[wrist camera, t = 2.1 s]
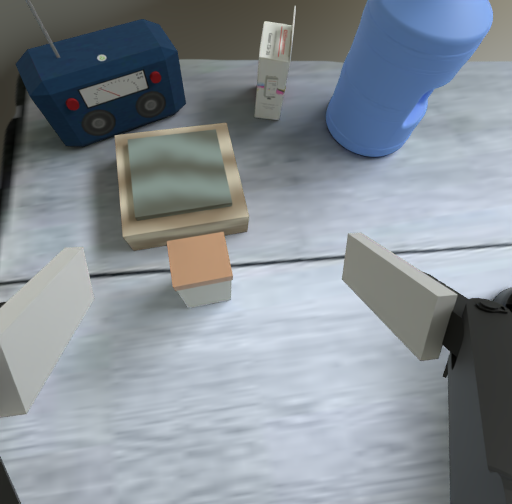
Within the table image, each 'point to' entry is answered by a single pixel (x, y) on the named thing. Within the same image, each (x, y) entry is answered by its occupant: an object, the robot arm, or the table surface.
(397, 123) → the water jug
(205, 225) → the birch tray
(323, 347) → the table surface
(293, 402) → the table surface
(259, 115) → the ink cartridge box
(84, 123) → the radio
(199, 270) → the plate
